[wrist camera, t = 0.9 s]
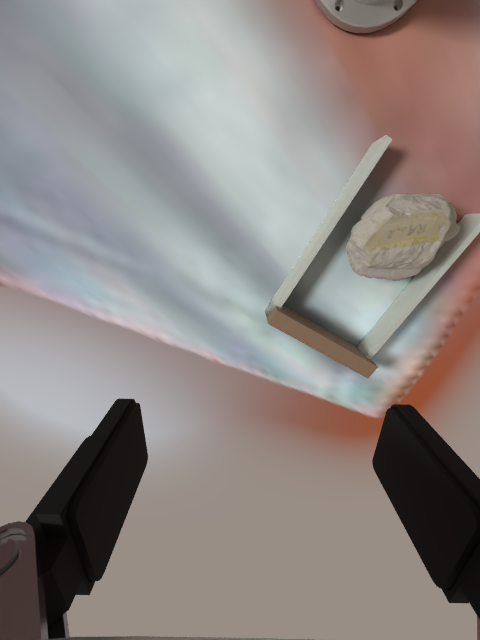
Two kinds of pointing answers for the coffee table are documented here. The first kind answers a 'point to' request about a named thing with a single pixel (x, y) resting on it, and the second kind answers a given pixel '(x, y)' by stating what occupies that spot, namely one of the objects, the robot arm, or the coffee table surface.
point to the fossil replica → (401, 235)
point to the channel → (400, 307)
